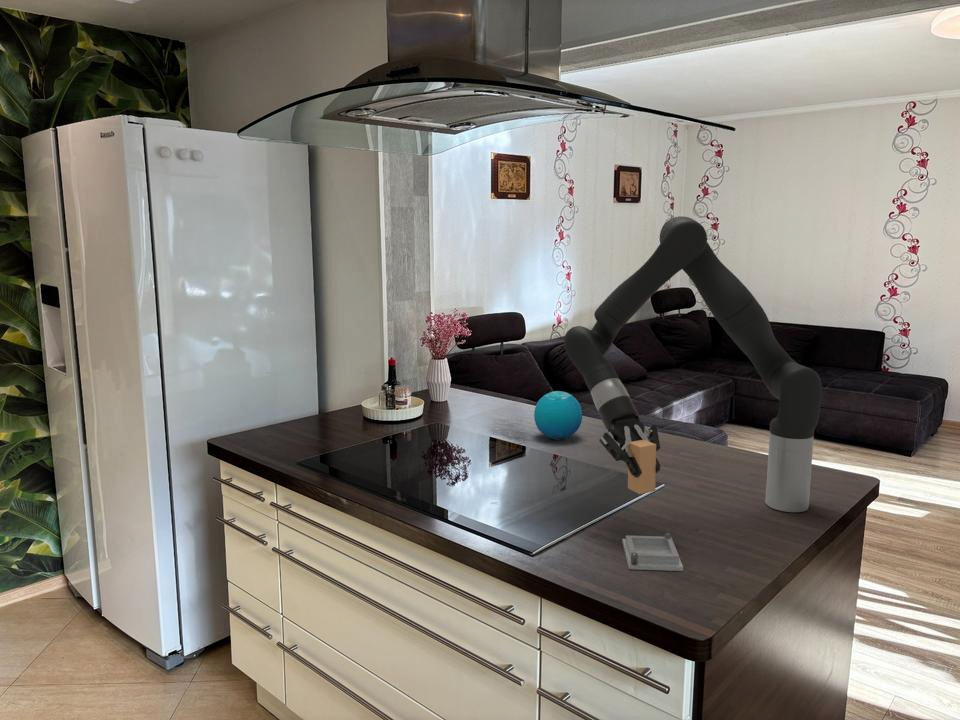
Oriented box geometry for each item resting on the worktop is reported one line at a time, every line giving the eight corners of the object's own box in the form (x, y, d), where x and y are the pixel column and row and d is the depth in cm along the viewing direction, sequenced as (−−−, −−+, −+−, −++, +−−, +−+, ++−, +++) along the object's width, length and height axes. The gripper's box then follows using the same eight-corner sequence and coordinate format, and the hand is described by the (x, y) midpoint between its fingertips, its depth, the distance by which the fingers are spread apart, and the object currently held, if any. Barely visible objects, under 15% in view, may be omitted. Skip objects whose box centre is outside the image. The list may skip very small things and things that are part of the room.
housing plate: (622, 542, 145) (622, 530, 145) (671, 543, 144) (672, 531, 144) (628, 569, 133) (629, 556, 133) (683, 571, 132) (683, 558, 132)
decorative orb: (569, 448, 211) (570, 399, 208) (525, 441, 218) (525, 393, 216) (589, 436, 223) (590, 389, 221) (547, 429, 231) (547, 384, 228)
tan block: (627, 488, 148) (628, 442, 146) (643, 485, 150) (644, 439, 148) (639, 494, 144) (640, 447, 143) (655, 491, 146) (656, 444, 144)
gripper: (593, 398, 148) (627, 470, 139) (648, 390, 153) (684, 459, 145) (579, 417, 153) (611, 488, 144) (633, 409, 159) (667, 476, 150)
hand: (647, 473), depth 145 cm, fingers closed on tan block, 4 cm apart
